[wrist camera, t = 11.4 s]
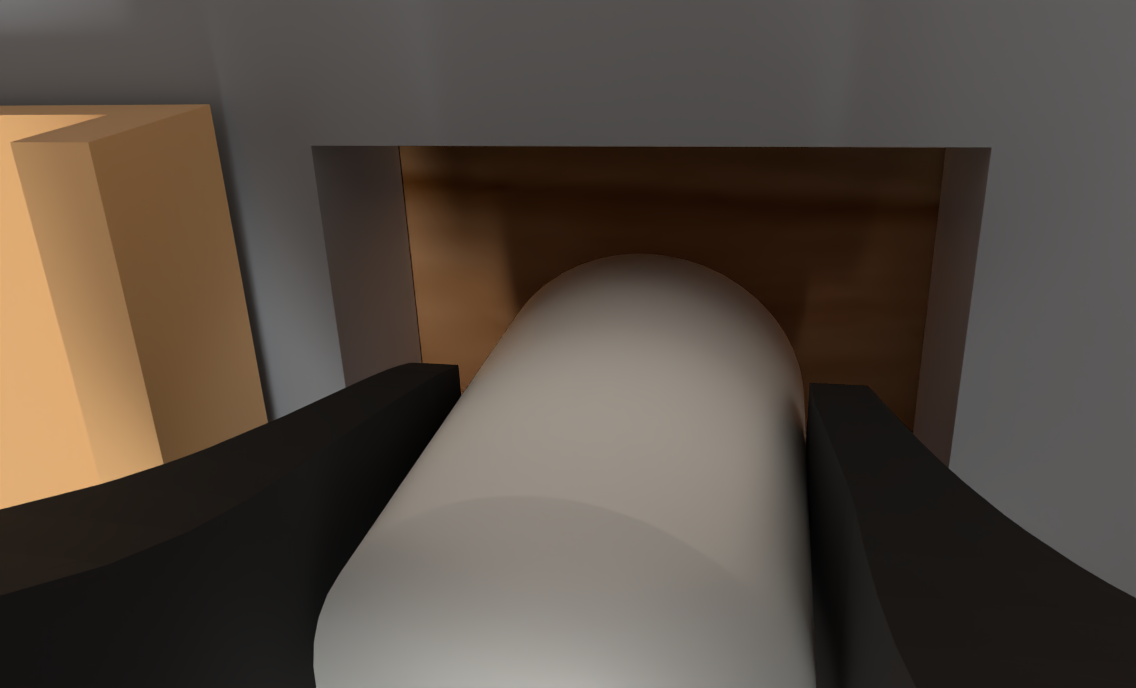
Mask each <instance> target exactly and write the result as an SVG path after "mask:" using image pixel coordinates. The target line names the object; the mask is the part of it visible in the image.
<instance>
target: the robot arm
mask: <svg viewBox="0 0 1136 688" xmlns="http://www.w3.org/2000/svg"><path fill="white" fill-rule="evenodd" d="M460 397H461V389H460V378H459V367H458V365H448V364H428V363H407V364H403V365H399V366H396V367H393V368H390V369H388V370H385V371H382V372H380V373H377V374H375V375H373V376H370V377H368V378H366V379H363V380H361V381H359V382H357V383H354V384H352V385H350V386H348V387H346V388H344V389H341V390H339V391H337V392H335V393H333V394H331V395H328V396H326V397H324V398H322V399H320V400H318V401H315V402H313V403H311V404H309V405H307V406H304V407H302V408H300V409H298V410H296V411H294V412H291V413H289V414H287V415H285V416H283V417H280V418H278V419H276V420H273V421H271V422H269V423H266V424H264V425H261V426H259V427H257V428H254V429H252V430H249V431H247V432H245V433H242V434H240V435H238V436H235V437H233V438H230V439H228V440H226V441H223V442H221V443H218V444H216V445H214V446H211V447H209V448H206V449H204V450H201V451H199V452H196V453H193V454H191V455H188V456H185V457H182V458H179V459H177V460H174V461H171V462H168V463H165V464H163V465H159V466H156V467H153V468H150V469H147V470H144V471H141V472H138V473H135V474H132V475H128V476H125V477H122V478H119V479H116V480H113V481H109V482H106V483H102V484H99V485H95V486H91V487H87V488H83V489H79V490H75V491H71V492H67V493H64V494H60V495H56V496H52V497H48V498H44V499H40V500H36V501H32V502H28V503H24V504H20V505H16V506H12V507H8V508H4V509H0V688H316V682H315V675H314V667H313V663H314V639H315V634H316V629H317V623H318V618H319V615H320V613H321V610H322V607H323V605H324V602H325V599H326V597H327V594H328V593H329V591H330V589H331V588H332V586H333V584H334V582H335V581H336V579H337V577H338V576H339V574H340V572H341V571H342V569H343V568H344V567H345V565H346V564H347V562H348V561H349V559H350V558H351V556H352V555H353V553H354V552H355V550H356V549H357V548H358V546H359V545H360V543H361V542H362V540H363V539H364V537H365V536H366V534H367V533H368V531H369V530H370V529H371V527H372V526H373V524H374V523H375V521H376V520H377V518H378V517H379V515H380V514H381V512H382V511H383V510H384V508H385V507H386V505H387V504H388V502H389V501H390V499H391V498H392V496H393V495H394V493H395V492H396V491H397V489H398V488H399V486H400V485H401V483H402V482H403V480H404V479H405V477H406V476H407V474H408V473H409V472H410V470H411V469H412V467H413V466H414V464H415V463H416V461H417V460H418V458H419V457H420V455H421V454H422V453H423V451H424V450H425V448H426V447H427V445H428V444H429V442H430V441H431V439H432V438H433V436H434V435H435V434H436V432H437V431H438V429H439V428H440V426H441V425H442V423H443V422H444V420H445V419H446V417H447V416H448V415H449V413H450V412H451V410H452V409H453V407H454V406H455V404H456V403H457V401H458V400H459V398H460ZM806 457H807V482H808V498H809V522H810V546H811V570H812V594H813V618H814V641H815V665H816V688H1136V598H1135V597H1133V596H1131V595H1129V594H1128V593H1126V592H1124V591H1122V590H1120V589H1118V588H1116V587H1115V586H1113V585H1111V584H1109V583H1107V582H1106V581H1104V580H1102V579H1101V578H1099V577H1097V576H1096V575H1094V574H1092V573H1090V572H1089V571H1087V570H1085V569H1084V568H1082V567H1080V566H1079V565H1077V564H1076V563H1074V562H1072V561H1071V560H1069V559H1068V558H1066V557H1065V556H1063V555H1062V554H1060V553H1059V552H1057V551H1056V550H1054V549H1053V548H1051V547H1050V546H1048V545H1047V544H1045V543H1044V542H1042V541H1041V540H1039V539H1038V538H1036V537H1035V536H1033V535H1032V534H1030V533H1029V532H1027V531H1026V530H1025V529H1023V528H1022V527H1020V526H1019V525H1018V524H1016V523H1015V522H1014V521H1012V520H1011V519H1009V518H1008V517H1007V516H1005V515H1004V514H1003V513H1002V512H1000V511H999V510H998V509H997V508H995V507H994V506H993V505H992V504H990V503H989V502H988V501H987V500H986V499H984V498H983V497H982V496H981V495H979V494H978V493H977V492H976V491H974V490H973V489H972V488H971V487H970V486H968V485H967V484H966V483H965V482H964V481H963V480H961V479H960V478H959V477H958V476H957V475H956V474H955V473H953V472H952V471H951V470H950V469H949V468H948V467H947V466H946V465H945V464H944V463H942V462H941V461H940V460H939V459H938V458H937V457H936V456H935V455H934V454H933V453H932V452H931V451H930V450H929V449H928V448H927V447H926V446H925V445H924V444H923V443H922V442H921V441H920V440H919V439H918V438H917V437H916V436H915V435H914V434H913V433H912V432H911V431H910V430H909V429H908V428H907V427H906V426H905V425H904V424H903V423H902V422H901V421H900V420H899V419H898V418H897V417H896V416H895V414H894V413H893V412H892V411H891V410H890V409H889V408H888V407H887V406H886V405H885V404H884V403H883V401H882V400H881V399H880V398H879V397H878V396H877V395H876V394H875V393H874V392H873V391H872V390H871V389H870V388H869V387H868V386H862V385H842V384H822V383H810V389H809V404H808V419H807V435H806Z"/></svg>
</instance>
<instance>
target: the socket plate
mask: <svg viewBox="0 0 1136 688" xmlns="http://www.w3.org/2000/svg"><path fill="white" fill-rule="evenodd" d="M179 104H210V108H211V114H212V119H213V125H214V130H215V136H216V141H217V147H218V152H219V158H220V163H221V169H222V174H223V180H224V185H225V191H226V196H227V202H228V207H229V213H230V218H231V223H232V229H233V234H234V240H235V245H236V251H237V256H238V262H239V267H240V273H241V278H242V284H243V289H244V295H245V300H246V306H247V311H248V317H249V322H250V328H251V333H252V339H253V344H254V350H255V355H256V361H257V366H258V371H259V377H260V382H261V388H262V393H263V399H264V404H265V410H266V415H267V421H268V423H269V422H271V421H273V420H276V419H278V418H280V417H283V416H285V415H287V414H289V413H291V412H294V411H296V410H298V409H300V408H302V407H304V406H307V405H309V404H311V403H313V402H315V401H318V400H320V399H322V398H324V397H326V396H328V395H331V394H333V393H335V392H337V391H339V390H341V389H344V388H346V387H348V386H350V385H352V384H354V383H357V382H359V381H361V380H363V379H366V378H368V377H370V376H373V375H375V374H377V373H380V372H382V371H385V370H388V369H390V368H393V367H396V366H399V365H403V364H407V363H422V361H421V352H420V343H419V333H418V324H417V315H416V306H415V297H414V287H413V278H412V269H411V260H410V251H409V241H408V232H407V223H406V214H405V205H404V195H403V186H402V177H401V168H400V159H399V149H398V146H654V147H946V150H945V159H944V168H943V176H942V185H941V194H940V202H939V211H938V220H937V229H936V237H935V246H934V255H933V263H932V272H931V281H930V289H929V298H928V307H927V315H926V324H925V333H924V341H923V350H922V359H921V368H920V376H919V385H918V394H917V402H916V411H915V420H914V428H913V434H914V435H915V436H916V437H917V438H918V439H919V440H920V441H921V442H922V443H923V444H924V445H925V446H926V447H927V448H928V449H929V450H930V451H931V452H932V453H933V454H934V455H935V456H936V457H937V458H938V459H939V460H940V461H941V462H942V463H944V464H945V465H946V466H947V467H948V468H949V469H950V470H951V471H952V472H953V473H955V474H956V475H957V476H958V477H959V478H960V479H961V480H963V481H964V482H965V483H966V484H967V485H968V486H970V487H971V488H972V489H973V490H974V491H976V492H977V493H978V494H979V495H981V496H982V497H983V498H984V499H986V500H987V501H988V502H989V503H990V504H992V505H993V506H994V507H995V508H997V509H998V510H999V511H1000V512H1002V513H1003V514H1004V515H1005V516H1007V517H1008V518H1009V519H1011V520H1012V521H1014V522H1015V523H1016V524H1018V525H1019V526H1020V527H1022V528H1023V529H1025V530H1026V531H1027V532H1029V533H1030V534H1032V535H1033V536H1035V537H1036V538H1038V539H1039V540H1041V541H1042V542H1044V543H1045V544H1047V545H1048V546H1050V547H1051V548H1053V549H1054V550H1056V551H1057V552H1059V553H1060V554H1062V555H1063V556H1065V557H1066V558H1068V559H1069V560H1071V561H1072V562H1074V563H1076V564H1077V565H1079V566H1080V567H1082V568H1084V569H1085V570H1087V571H1089V572H1090V573H1092V574H1094V575H1096V576H1097V577H1099V578H1101V579H1102V580H1104V581H1106V582H1107V583H1109V584H1111V585H1113V586H1115V587H1116V588H1118V589H1120V590H1122V591H1124V592H1126V593H1128V594H1129V595H1131V596H1133V597H1135V598H1136V0H0V106H28V105H179Z"/></svg>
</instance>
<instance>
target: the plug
mask: <svg viewBox="0 0 1136 688" xmlns="http://www.w3.org/2000/svg"><path fill="white" fill-rule="evenodd" d="M313 667H314V675H315V682H316V688H816V665H815V641H814V618H813V594H812V570H811V546H810V522H809V498H808V482H807V457H806V427H805V403H804V386H803V381H802V375H801V370H800V367H799V364H798V361H797V358H796V355H795V352H794V350H793V348H792V346H791V344H790V342H789V340H788V338H787V336H786V334H785V332H784V331H783V330H782V328H781V327H780V325H779V324H778V322H777V321H776V320H775V318H774V317H773V315H772V314H771V313H770V312H769V311H768V310H767V309H766V308H765V307H764V306H763V305H762V304H761V303H760V301H759V300H758V299H756V298H755V297H754V296H753V295H751V294H750V293H749V292H748V291H747V290H745V289H744V288H743V287H742V286H740V285H739V284H737V283H735V282H734V281H732V280H731V279H729V278H727V277H726V276H724V275H723V274H720V273H718V272H716V271H714V270H712V269H710V268H708V267H705V266H703V265H700V264H697V263H694V262H691V261H688V260H684V259H680V258H675V257H670V256H665V255H656V254H624V255H615V256H610V257H605V258H600V259H596V260H593V261H590V262H587V263H584V264H581V265H578V266H576V267H574V268H572V269H570V270H568V271H566V272H564V273H562V274H560V275H559V276H557V277H556V278H554V279H553V280H551V281H550V282H548V283H547V284H545V285H544V286H543V287H542V288H541V289H540V290H538V291H537V292H536V293H535V294H534V295H533V296H532V297H531V298H530V299H529V300H528V301H527V303H526V304H525V305H524V306H523V307H522V309H521V310H520V311H519V312H518V314H517V315H516V317H515V318H514V320H513V321H512V322H511V324H510V325H509V327H508V328H507V330H506V331H505V333H504V334H503V336H502V337H501V339H500V340H499V341H498V343H497V344H496V346H495V347H494V349H493V350H492V352H491V353H490V355H489V356H488V358H487V359H486V360H485V362H484V363H483V365H482V366H481V368H480V369H479V371H478V372H477V374H476V375H475V377H474V378H473V379H472V381H471V382H470V384H469V385H468V387H467V388H466V390H465V391H464V393H463V394H462V396H461V397H460V398H459V400H458V401H457V403H456V404H455V406H454V407H453V409H452V410H451V412H450V413H449V415H448V416H447V417H446V419H445V420H444V422H443V423H442V425H441V426H440V428H439V429H438V431H437V432H436V434H435V435H434V436H433V438H432V439H431V441H430V442H429V444H428V445H427V447H426V448H425V450H424V451H423V453H422V454H421V455H420V457H419V458H418V460H417V461H416V463H415V464H414V466H413V467H412V469H411V470H410V472H409V473H408V474H407V476H406V477H405V479H404V480H403V482H402V483H401V485H400V486H399V488H398V489H397V491H396V492H395V493H394V495H393V496H392V498H391V499H390V501H389V502H388V504H387V505H386V507H385V508H384V510H383V511H382V512H381V514H380V515H379V517H378V518H377V520H376V521H375V523H374V524H373V526H372V527H371V529H370V530H369V531H368V533H367V534H366V536H365V537H364V539H363V540H362V542H361V543H360V545H359V546H358V548H357V549H356V550H355V552H354V553H353V555H352V556H351V558H350V559H349V561H348V562H347V564H346V565H345V567H344V568H343V569H342V571H341V572H340V574H339V576H338V577H337V579H336V581H335V582H334V584H333V586H332V588H331V589H330V591H329V593H328V594H327V597H326V599H325V602H324V605H323V607H322V610H321V613H320V615H319V618H318V623H317V629H316V634H315V639H314V663H313Z"/></svg>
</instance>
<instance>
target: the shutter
mask: <svg viewBox="0 0 1136 688" xmlns="http://www.w3.org/2000/svg"><path fill="white" fill-rule="evenodd" d="M266 423H268V421H267V415H266V410H265V404H264V399H263V393H262V388H261V382H260V377H259V371H258V366H257V361H256V355H255V350H254V344H253V339H252V333H251V328H250V322H249V317H248V311H247V306H246V300H245V295H244V289H243V284H242V278H241V273H240V267H239V262H238V256H237V251H236V245H235V240H234V234H233V229H232V223H231V218H230V213H229V207H228V202H227V196H226V191H225V185H224V180H223V174H222V169H221V163H220V158H219V152H218V147H217V141H216V136H215V130H214V125H213V119H212V114H211V108H210V104H179V105H28V106H0V509H4V508H8V507H12V506H16V505H20V504H24V503H28V502H32V501H36V500H40V499H44V498H48V497H52V496H56V495H60V494H64V493H67V492H71V491H75V490H79V489H83V488H87V487H91V486H95V485H99V484H102V483H106V482H109V481H113V480H116V479H119V478H122V477H125V476H128V475H132V474H135V473H138V472H141V471H144V470H147V469H150V468H153V467H156V466H159V465H163V464H165V463H168V462H171V461H174V460H177V459H179V458H182V457H185V456H188V455H191V454H193V453H196V452H199V451H201V450H204V449H206V448H209V447H211V446H214V445H216V444H218V443H221V442H223V441H226V440H228V439H230V438H233V437H235V436H238V435H240V434H242V433H245V432H247V431H249V430H252V429H254V428H257V427H259V426H261V425H264V424H266Z"/></svg>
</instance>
